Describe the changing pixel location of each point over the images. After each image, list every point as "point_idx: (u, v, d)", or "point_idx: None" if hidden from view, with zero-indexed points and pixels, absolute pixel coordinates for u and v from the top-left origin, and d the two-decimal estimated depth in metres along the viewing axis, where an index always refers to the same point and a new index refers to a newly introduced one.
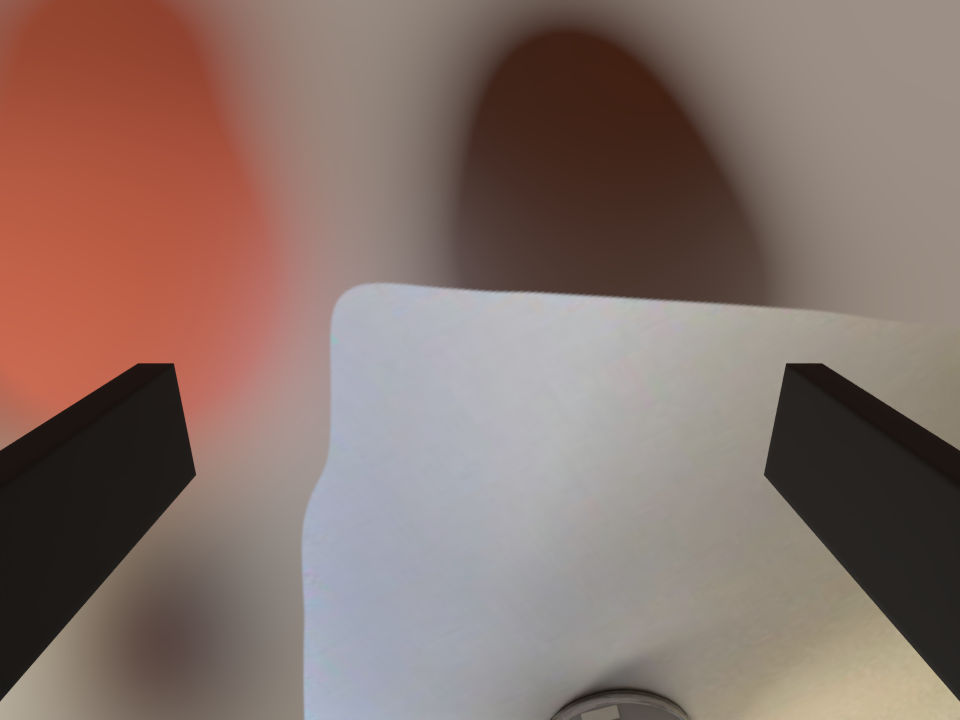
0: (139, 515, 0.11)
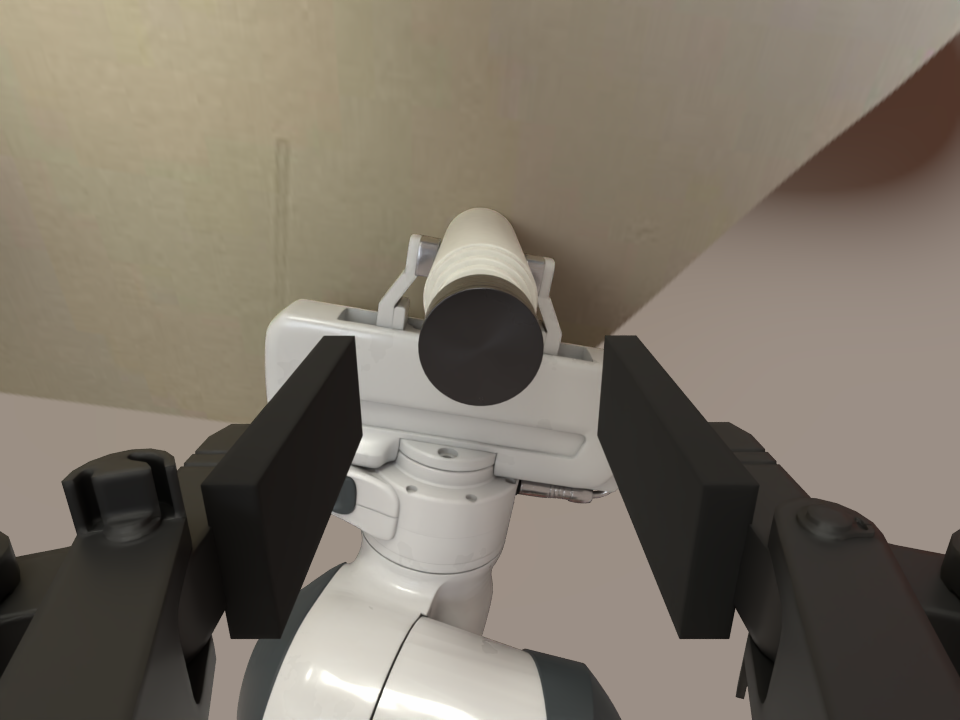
0: (342, 463, 0.13)
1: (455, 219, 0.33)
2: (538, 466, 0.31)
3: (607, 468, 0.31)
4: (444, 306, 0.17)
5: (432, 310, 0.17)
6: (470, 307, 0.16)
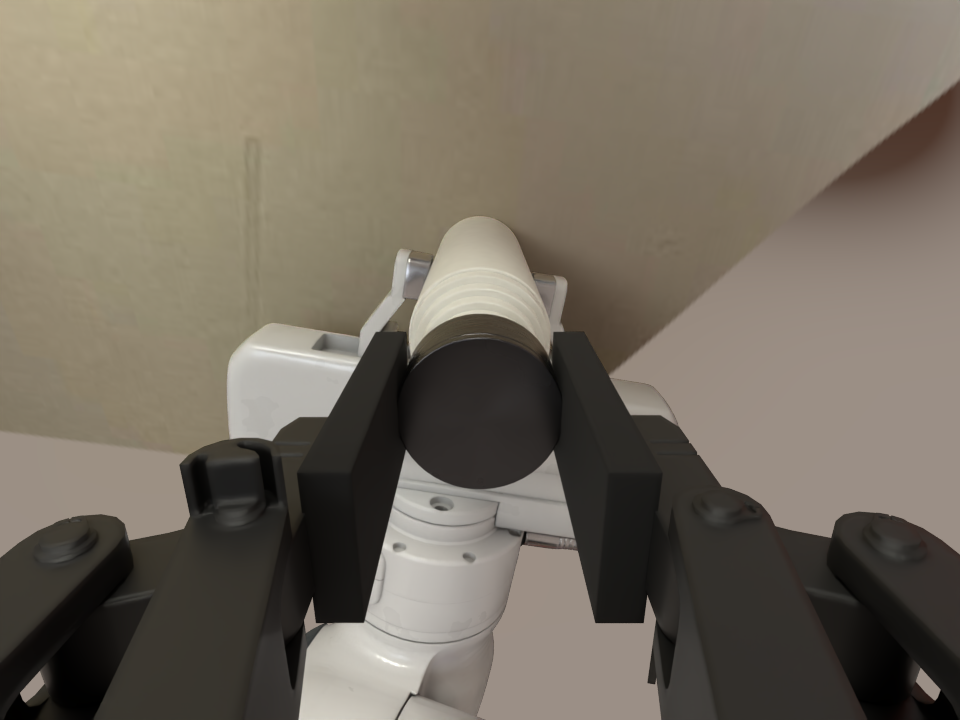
0: (398, 456, 0.13)
1: (451, 230, 0.28)
2: (547, 517, 0.27)
3: None
4: (430, 362, 0.12)
5: (414, 367, 0.12)
6: (465, 363, 0.12)
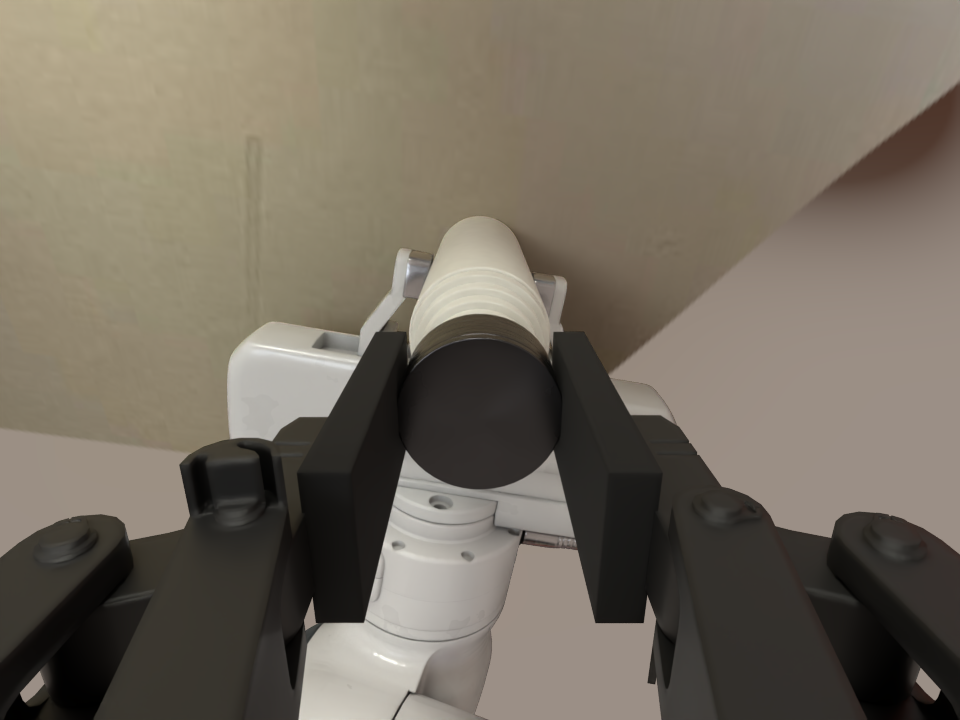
0: (398, 456, 0.13)
1: (451, 229, 0.29)
2: (545, 516, 0.27)
3: None
4: (445, 474, 0.13)
5: (455, 485, 0.13)
6: (432, 448, 0.13)
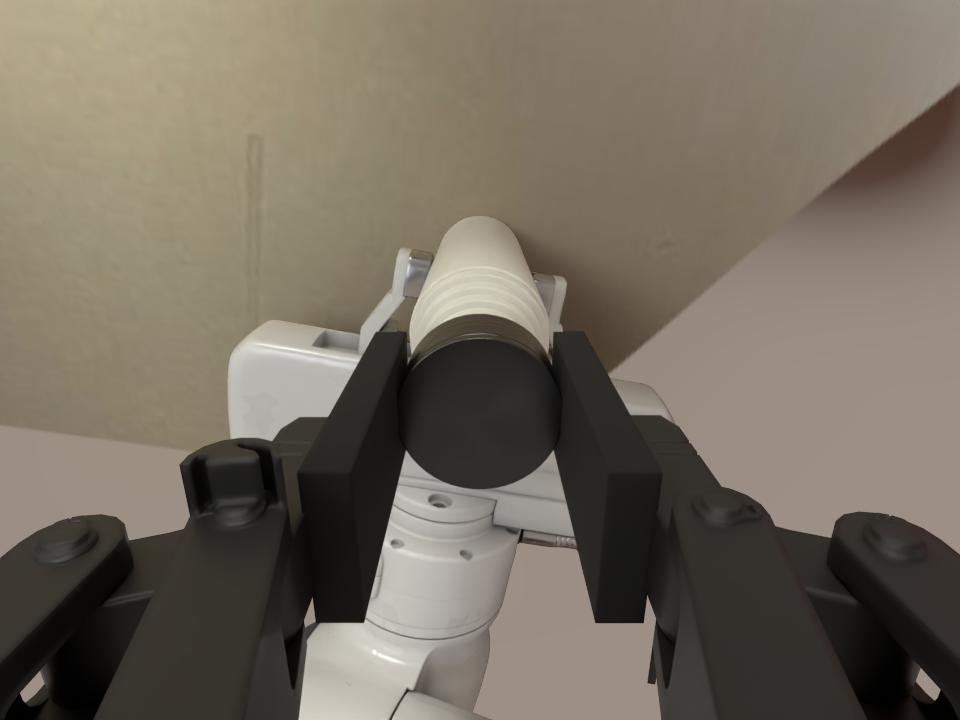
0: (398, 456, 0.13)
1: (451, 229, 0.29)
2: (544, 515, 0.27)
3: None
4: (554, 424, 0.13)
5: None
6: (529, 445, 0.13)
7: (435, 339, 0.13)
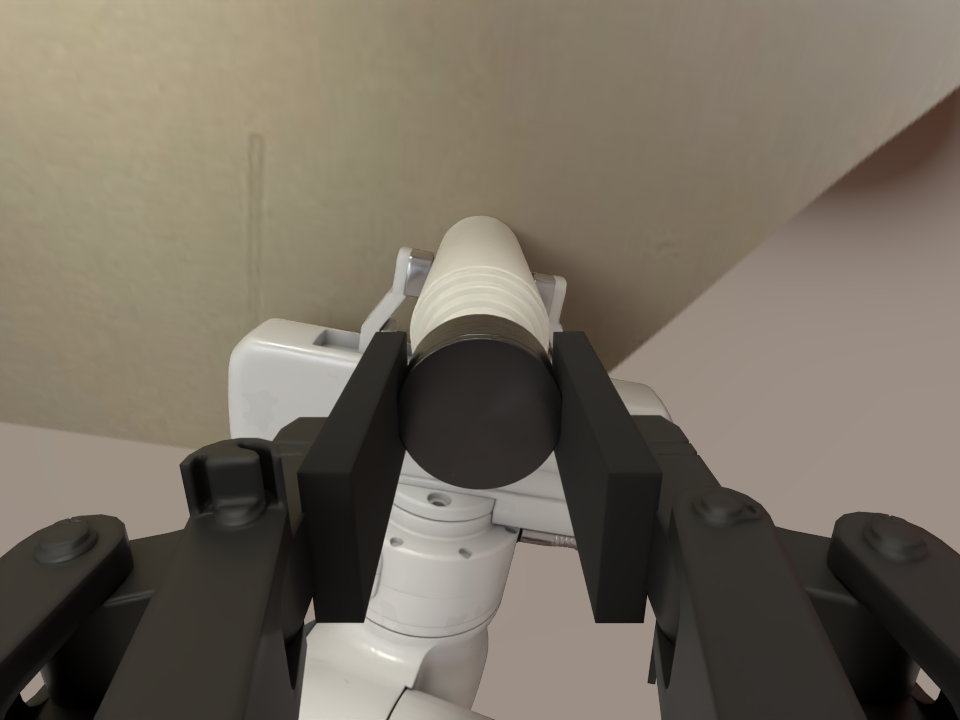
0: (398, 456, 0.13)
1: (452, 229, 0.29)
2: (543, 514, 0.27)
3: None
4: (457, 349, 0.12)
5: (439, 348, 0.12)
6: (489, 362, 0.12)
7: None
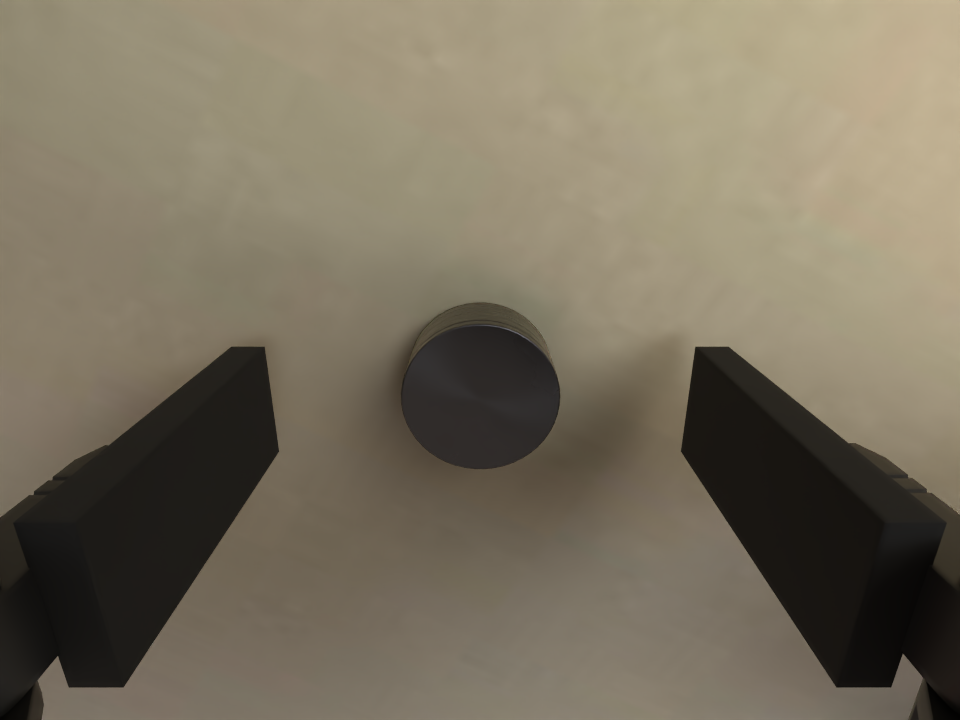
0: (242, 484, 0.12)
1: None
2: None
3: None
4: (459, 334, 0.13)
5: (442, 333, 0.13)
6: (489, 347, 0.13)
7: None
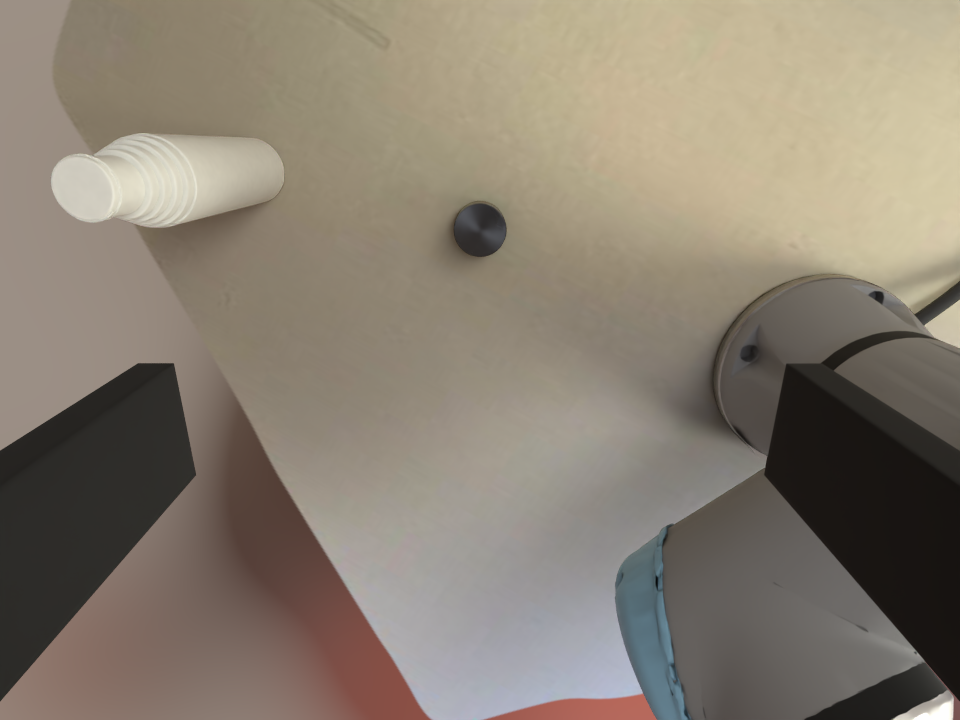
0: (139, 515, 0.11)
1: (274, 162, 0.39)
2: None
3: None
4: (473, 207, 0.40)
5: (468, 206, 0.40)
6: (483, 211, 0.40)
7: None
